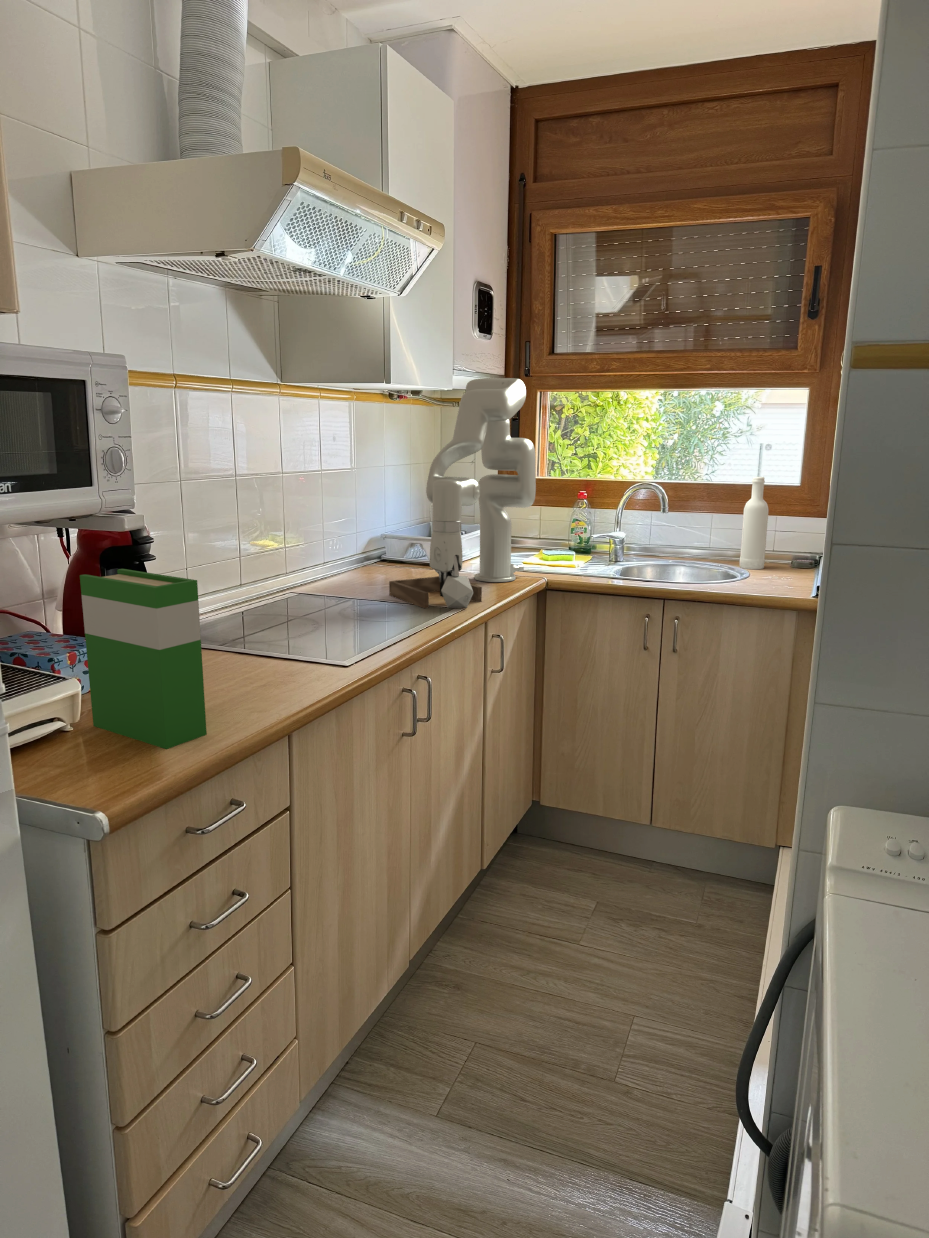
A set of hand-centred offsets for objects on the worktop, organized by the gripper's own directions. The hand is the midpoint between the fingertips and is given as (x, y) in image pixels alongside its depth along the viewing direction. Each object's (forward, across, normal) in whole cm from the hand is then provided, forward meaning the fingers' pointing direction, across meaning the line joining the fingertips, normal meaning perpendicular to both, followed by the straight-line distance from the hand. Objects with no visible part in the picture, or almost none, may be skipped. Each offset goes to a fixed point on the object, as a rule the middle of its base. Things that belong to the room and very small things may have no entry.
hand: (446, 596), depth 232 cm
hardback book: (+3, +62, -89) cm, 109 cm away
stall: (+2, -7, 0) cm, 7 cm away
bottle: (+2, -1, +118) cm, 118 cm away
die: (+2, +5, 0) cm, 5 cm away
